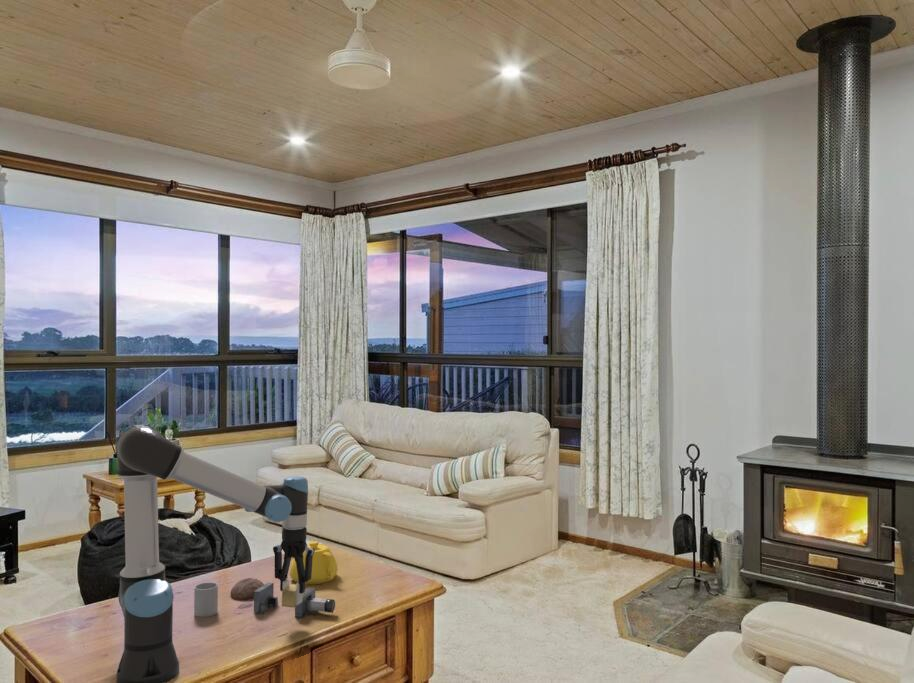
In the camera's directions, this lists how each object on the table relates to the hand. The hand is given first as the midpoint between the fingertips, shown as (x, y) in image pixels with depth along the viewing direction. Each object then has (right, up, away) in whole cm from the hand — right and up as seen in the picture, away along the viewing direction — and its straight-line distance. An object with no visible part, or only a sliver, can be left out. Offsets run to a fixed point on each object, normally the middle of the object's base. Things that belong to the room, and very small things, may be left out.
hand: (292, 602), depth 215 cm
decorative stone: (-22, -8, +29) cm, 37 cm away
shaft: (+5, -7, +10) cm, 13 cm away
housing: (-6, -8, +13) cm, 16 cm away
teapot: (-4, -9, +47) cm, 48 cm away
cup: (-32, -8, +12) cm, 35 cm away
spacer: (0, -1, 0) cm, 1 cm away
